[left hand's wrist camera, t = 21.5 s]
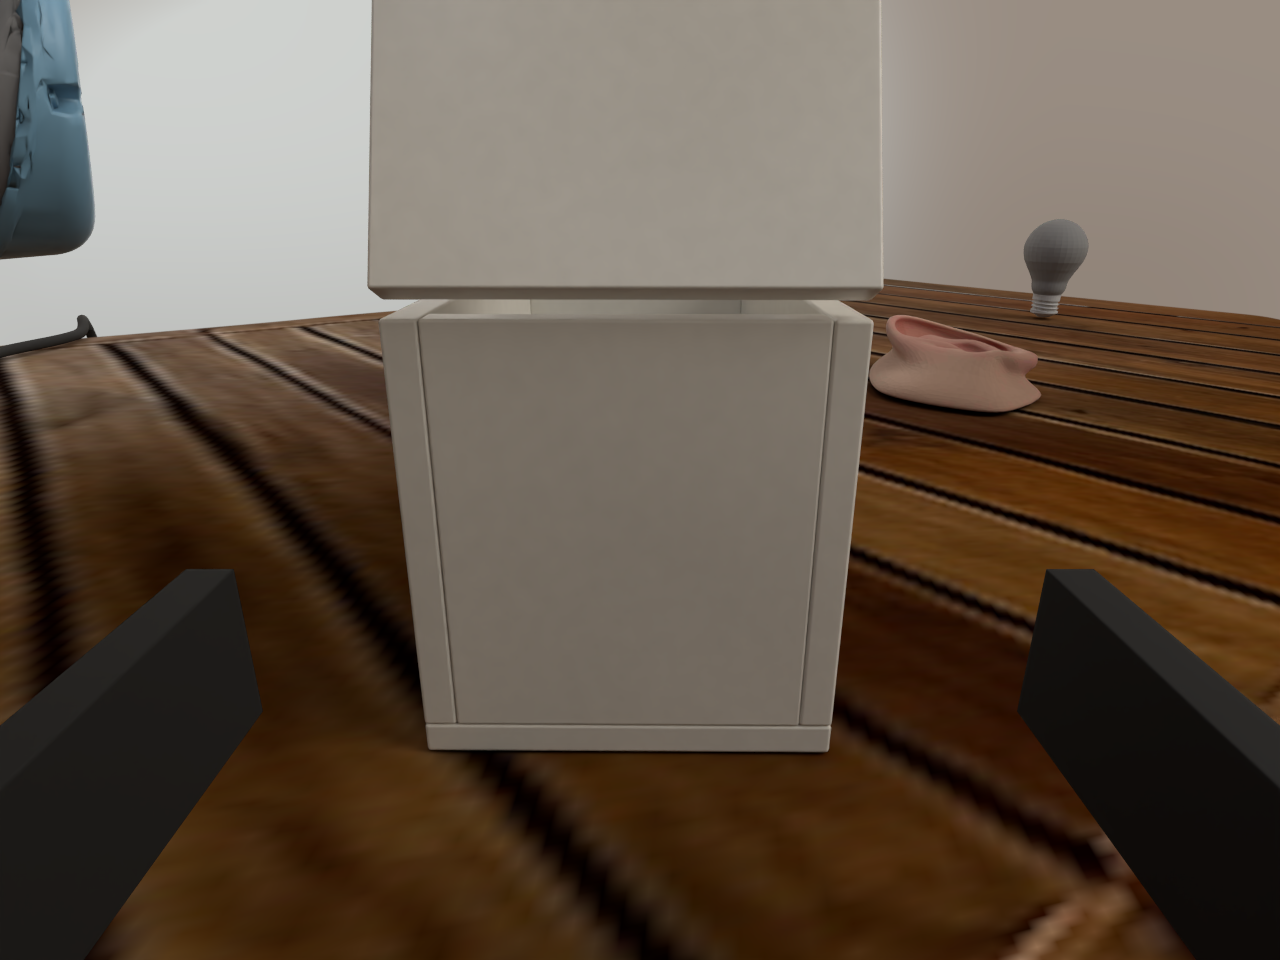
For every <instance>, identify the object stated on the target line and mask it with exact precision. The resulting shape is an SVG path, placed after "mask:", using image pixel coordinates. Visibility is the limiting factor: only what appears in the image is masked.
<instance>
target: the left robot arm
mask: <svg viewBox="0 0 1280 960" xmlns="http://www.w3.org/2000/svg"><path fill="white" fill-rule="evenodd" d="M94 223H95V204H94V192H93V182H92V172H91V164H90V155H89V147H88V139H87V132H86V124H85V117H84V111H83V106H82V101H81V87H80V80H79V73H78V60H77V52H76V45H75V37H74V30H73V23H72V17H71V10H70V3H69V0H0V259H11V258H22V257H34V256H46V255H57V254H63V253H67V252H70V251H73V250H75V249H77V248H78V247H80V246H81V245H83V244H84V243H85V242H86V241H87V239H88V238H89V237H90V235H91V233H92V231H93V227H94ZM77 321H78V327H77V329H76V330H74V331H71V332H67V333H64V334H59V335H55V336H50V337H46V338H40V339H35V340H30V341H25V342H20V343H15V344H10V345H6V346H1V347H0V358H2V357H6V356H10V355H14V354H19V353H23V352H28V351H33V350H38V349H42V348H47V347H52V346H56V345H60V344H64V343H68V342H72V341H75V340H78V339H81V338H83V337H84V336H85V335H86V336H87V338H91V337H97V335H96V333H95V331H94V328H93V327H92V325H91V323H90V321H89V320H88V318H87V317H86V316H85V315H80V316H78V318H77ZM262 712H263V710H262V705H261V700H260V695H259V691H258V686H257V681H256V676H255V671H254V666H253V661H252V656H251V652H250V647H249V642H248V637H247V632H246V627H245V622H244V617H243V613H242V608H241V603H240V598H239V593H238V588H237V583H236V578H235V574H234V569H186V570H185V571H184V572H182V573H181V574H180V575H179V576H178V577H176V578H175V579H174V580H173V581H172V582H170V583H169V584H168V585H167V586H166V587H165V588H163V589H162V590H161V591H160V592H159V593H157V594H156V595H155V596H154V597H153V598H151V599H150V600H149V601H148V602H147V603H146V604H144V605H143V606H142V607H141V608H140V609H138V610H137V611H136V612H135V613H134V614H132V615H131V616H130V617H129V618H128V619H126V620H125V621H124V622H123V623H122V624H121V625H119V626H118V627H117V628H116V629H115V630H113V631H112V632H111V633H110V634H109V635H107V636H106V637H105V638H104V639H103V640H102V641H100V642H99V643H98V644H97V645H96V646H94V647H93V648H92V649H91V650H90V651H88V652H87V653H86V654H85V655H84V656H82V657H81V658H80V659H79V660H78V661H77V662H75V663H74V664H73V665H72V666H71V667H69V668H68V669H67V670H66V671H65V672H63V673H62V674H61V675H60V676H59V677H58V678H56V679H55V680H54V681H53V682H52V683H50V684H49V685H48V686H47V687H46V688H44V689H43V690H42V691H41V692H40V693H39V694H37V695H36V696H35V697H34V698H33V699H31V700H30V701H29V702H28V703H27V704H25V705H24V706H23V707H22V708H21V709H19V710H18V711H17V712H16V713H15V714H14V715H12V716H11V717H10V718H9V719H8V720H6V721H5V722H4V723H3V724H2V725H0V960H84V959H85V957H86V956H87V954H88V953H89V952H90V950H91V949H92V948H93V946H94V945H95V943H96V942H97V941H98V939H99V938H100V936H101V935H102V934H103V932H104V931H105V930H106V928H107V927H108V925H109V924H110V923H111V921H112V920H113V918H114V917H115V916H116V914H117V913H118V911H119V910H120V909H121V907H122V906H123V905H124V903H125V902H126V900H127V899H128V898H129V896H130V895H131V893H132V892H133V891H134V889H135V888H136V886H137V885H138V884H139V882H140V881H141V880H142V878H143V877H144V875H145V874H146V873H147V871H148V870H149V868H150V867H151V866H152V864H153V863H154V862H155V860H156V859H157V857H158V856H159V855H160V853H161V852H162V850H163V849H164V848H165V846H166V845H167V843H168V842H169V841H170V839H171V838H172V837H173V835H174V834H175V832H176V831H177V830H178V828H179V827H180V825H181V824H182V823H183V821H184V820H185V818H186V817H187V816H188V814H189V813H190V812H191V810H192V809H193V807H194V806H195V805H196V803H197V802H198V800H199V799H200V798H201V796H202V795H203V793H204V792H205V791H206V789H207V788H208V787H209V785H210V784H211V782H212V781H213V780H214V778H215V777H216V775H217V774H218V773H219V771H220V770H221V769H222V767H223V766H224V764H225V763H226V762H227V760H228V759H229V757H230V756H231V755H232V753H233V752H234V750H235V749H236V748H237V746H238V745H239V744H240V742H241V741H242V739H243V738H244V737H245V735H246V734H247V732H248V731H249V730H250V728H251V727H252V725H253V724H254V723H255V721H256V720H257V719H258V717H259V716H260V714H261V713H262ZM1017 712H1018V713H1019V714H1020V716H1021V717H1022V719H1023V720H1024V721H1025V723H1026V724H1027V725H1028V727H1029V728H1030V730H1031V731H1032V732H1033V734H1034V735H1035V737H1036V738H1037V739H1038V741H1039V742H1040V744H1041V745H1042V746H1043V748H1044V749H1045V750H1046V752H1047V753H1048V755H1049V756H1050V757H1051V759H1052V760H1053V762H1054V763H1055V764H1056V766H1057V767H1058V769H1059V770H1060V771H1061V773H1062V774H1063V775H1064V777H1065V778H1066V780H1067V781H1068V782H1069V784H1070V785H1071V787H1072V788H1073V789H1074V791H1075V792H1076V793H1077V795H1078V796H1079V798H1080V799H1081V800H1082V802H1083V803H1084V805H1085V806H1086V807H1087V809H1088V810H1089V812H1090V813H1091V814H1092V816H1093V817H1094V818H1095V820H1096V821H1097V823H1098V824H1099V825H1100V827H1101V828H1102V830H1103V831H1104V832H1105V834H1106V835H1107V837H1108V838H1109V839H1110V841H1111V842H1112V843H1113V845H1114V846H1115V848H1116V849H1117V850H1118V852H1119V853H1120V855H1121V856H1122V857H1123V859H1124V860H1125V862H1126V863H1127V864H1128V866H1129V867H1130V868H1131V870H1132V871H1133V873H1134V874H1135V875H1136V877H1137V878H1138V880H1139V881H1140V882H1141V884H1142V885H1143V886H1144V888H1145V889H1146V891H1147V892H1148V893H1149V895H1150V896H1151V898H1152V899H1153V900H1154V902H1155V903H1156V905H1157V906H1158V907H1159V909H1160V910H1161V911H1162V913H1163V914H1164V916H1165V917H1166V918H1167V920H1168V921H1169V923H1170V924H1171V925H1172V927H1173V928H1174V930H1175V931H1176V932H1177V934H1178V935H1179V936H1180V938H1181V939H1182V941H1183V942H1184V943H1185V945H1186V946H1187V948H1188V949H1189V950H1190V952H1191V953H1192V954H1193V956H1194V957H1195V959H1196V960H1280V725H1278V724H1277V723H1276V722H1275V721H1274V720H1272V719H1271V718H1270V717H1269V716H1268V715H1266V714H1265V713H1264V712H1263V711H1262V710H1261V709H1259V708H1258V707H1257V706H1256V705H1255V704H1253V703H1252V702H1251V701H1250V700H1249V699H1247V698H1246V697H1245V696H1244V695H1243V694H1241V693H1240V692H1239V691H1238V690H1237V689H1236V688H1234V687H1233V686H1232V685H1231V684H1230V683H1228V682H1227V681H1226V680H1225V679H1224V678H1222V677H1221V676H1220V675H1219V674H1218V673H1217V672H1215V671H1214V670H1213V669H1212V668H1211V667H1209V666H1208V665H1207V664H1206V663H1205V662H1203V661H1202V660H1201V659H1200V658H1199V657H1198V656H1196V655H1195V654H1194V653H1193V652H1192V651H1190V650H1189V649H1188V648H1187V647H1186V646H1184V645H1183V644H1182V643H1181V642H1180V641H1178V640H1177V639H1176V638H1175V637H1174V636H1173V635H1171V634H1170V633H1169V632H1168V631H1167V630H1165V629H1164V628H1163V627H1162V626H1161V625H1159V624H1158V623H1157V622H1156V621H1155V620H1154V619H1152V618H1151V617H1150V616H1149V615H1148V614H1146V613H1145V612H1144V611H1143V610H1142V609H1140V608H1139V607H1138V606H1137V605H1136V604H1134V603H1133V602H1132V601H1131V600H1130V599H1129V598H1127V597H1126V596H1125V595H1124V594H1123V593H1121V592H1120V591H1119V590H1118V589H1117V588H1115V587H1114V586H1113V585H1112V584H1111V583H1110V582H1108V581H1107V580H1106V579H1105V578H1104V577H1102V576H1101V575H1100V574H1099V573H1098V572H1096V571H1095V570H1094V569H1046V574H1045V578H1044V583H1043V588H1042V593H1041V598H1040V603H1039V608H1038V613H1037V617H1036V622H1035V627H1034V632H1033V637H1032V642H1031V647H1030V652H1029V656H1028V661H1027V666H1026V671H1025V676H1024V681H1023V686H1022V691H1021V695H1020V700H1019V705H1018V710H1017Z"/></svg>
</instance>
